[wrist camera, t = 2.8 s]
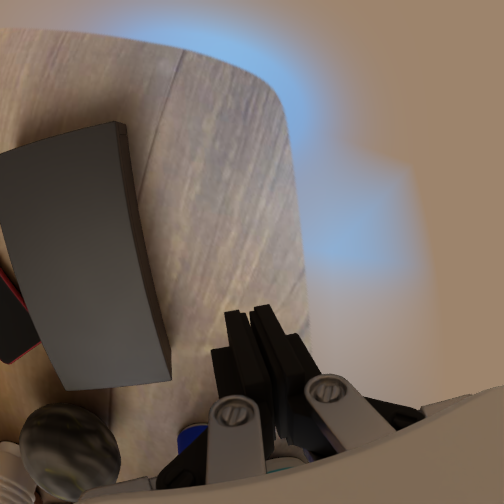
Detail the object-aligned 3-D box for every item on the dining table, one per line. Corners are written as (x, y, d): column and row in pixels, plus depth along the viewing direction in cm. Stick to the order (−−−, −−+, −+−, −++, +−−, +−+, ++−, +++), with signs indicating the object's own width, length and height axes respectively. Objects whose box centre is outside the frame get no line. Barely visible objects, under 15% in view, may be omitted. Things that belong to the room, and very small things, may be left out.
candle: (11, 466, 27) (-6, 550, 13) (-13, 435, 25) (-41, 525, 11) (50, 472, 28) (38, 564, 15) (27, 442, 26) (5, 544, 12)
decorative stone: (61, 364, 24) (32, 450, 15) (142, 421, 28) (143, 505, 19) (19, 407, 24) (-5, 478, 15) (91, 454, 28) (84, 525, 19)
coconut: (48, 525, 28) (47, 503, 27) (21, 526, 24) (16, 504, 24) (38, 501, 31) (36, 477, 31) (12, 501, 28) (7, 477, 27)
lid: (13, 153, 18) (-13, 158, 14) (125, 123, 19) (115, 120, 16) (75, 362, 24) (65, 391, 21) (171, 350, 26) (172, 380, 22)
